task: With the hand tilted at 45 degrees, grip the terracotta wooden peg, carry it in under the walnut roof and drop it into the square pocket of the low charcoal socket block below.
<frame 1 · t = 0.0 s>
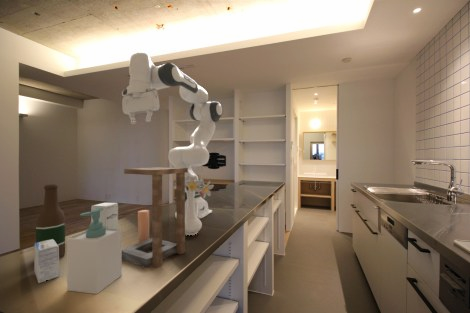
hand: (140, 122, 94), 48 cm above the counter, tool pointing down, fingers open, 8 cm apart
flower vase: (192, 233, 93), on the counter
awning socket: (150, 254, 72), on the counter
soap bottle: (95, 283, 56), on the counter
supplement box: (104, 233, 94), on the counter
peg: (143, 242, 83), on the counter
medicine box: (46, 276, 60), on the counter
beer bottle: (51, 258, 71), on the counter
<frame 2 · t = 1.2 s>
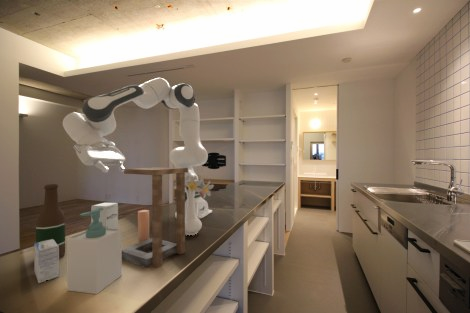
hand: (115, 170, 85), 28 cm above the counter, tool tilted 45°, fingers open, 8 cm apart
nothing on the counter moved.
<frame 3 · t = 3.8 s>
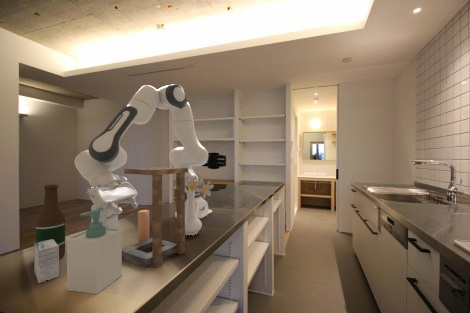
hand: (128, 209, 84), 12 cm above the counter, tool tilted 45°, fingers open, 8 cm apart
nothing on the counter moved.
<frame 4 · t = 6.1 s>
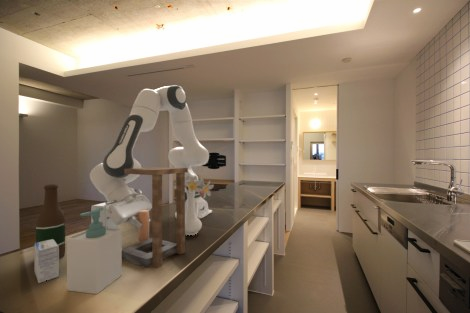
hand: (145, 224, 83), 7 cm above the counter, tool tilted 45°, fingers closed on peg, 4 cm apart
peg: (143, 242, 83), on the counter, touching gripper
everything else where it was.
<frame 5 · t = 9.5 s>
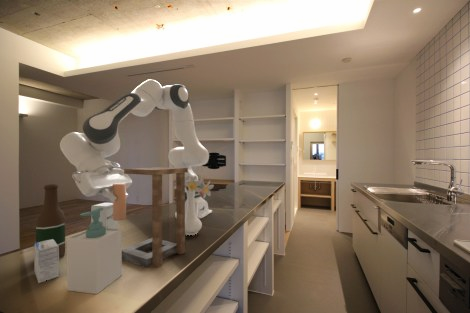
hand: (121, 198, 74), 18 cm above the counter, tool tilted 45°, fingers closed on peg, 4 cm apart
peg: (119, 218, 74), point 12 cm above the counter, touching gripper
everything else where it was.
when the fingers open (10 cm above the counter, at t = 12.8 s): peg drops 3 cm, resting in awning socket.
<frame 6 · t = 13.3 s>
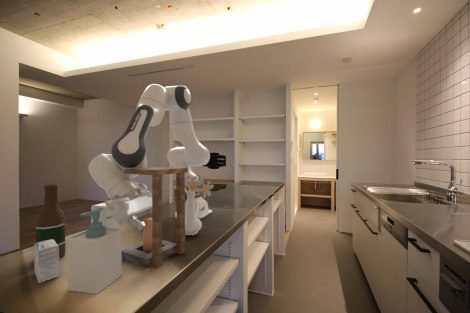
hand: (151, 223, 72), 10 cm above the counter, tool tilted 45°, fingers open, 8 cm apart
peg: (149, 254, 72), resting in awning socket
everything else where it was.
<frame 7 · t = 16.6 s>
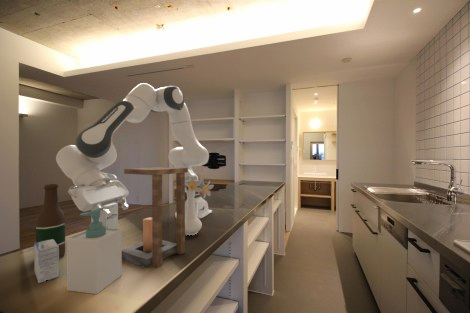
hand: (117, 211, 75), 14 cm above the counter, tool tilted 45°, fingers open, 8 cm apart
nothing on the counter moved.
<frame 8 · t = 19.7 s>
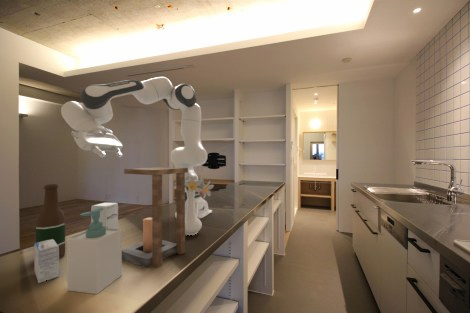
hand: (112, 156, 88), 33 cm above the counter, tool tilted 45°, fingers open, 8 cm apart
nothing on the counter moved.
at the end: peg 0.2 cm off-centre on the awning socket, point 0.0 cm above the awning socket's base; peg tilted 0°; the gripper is holding nothing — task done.
